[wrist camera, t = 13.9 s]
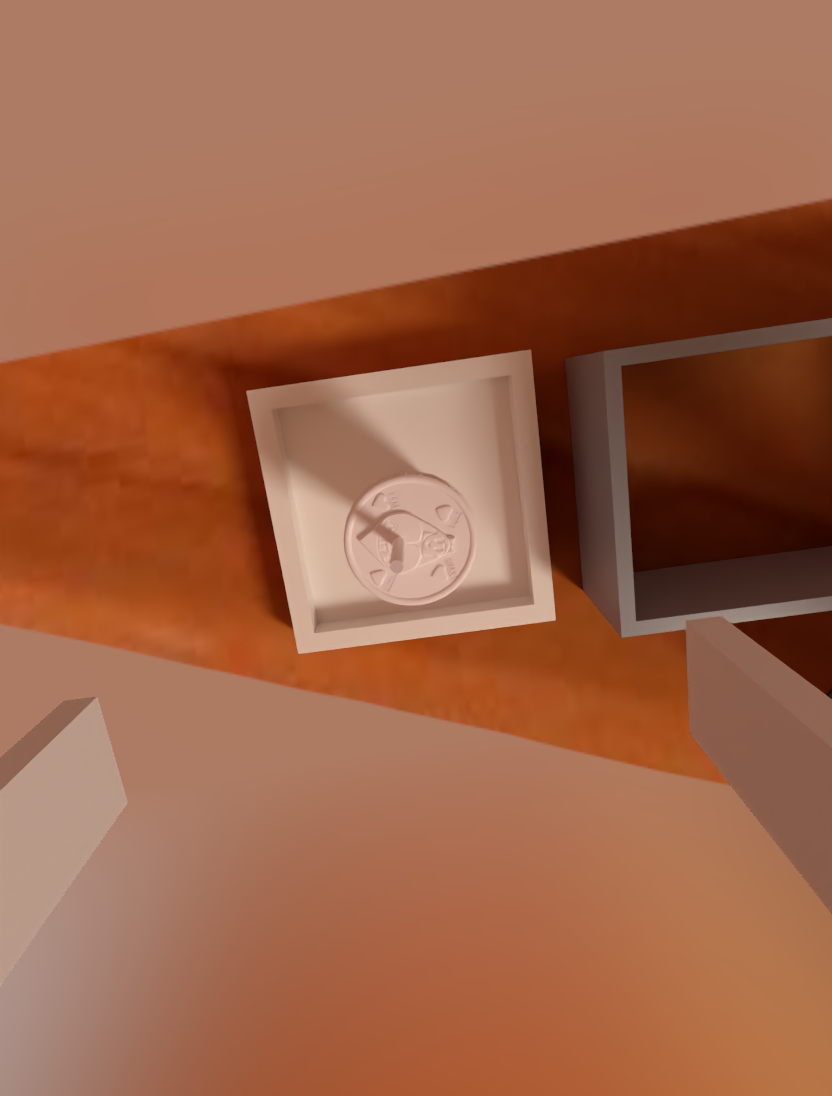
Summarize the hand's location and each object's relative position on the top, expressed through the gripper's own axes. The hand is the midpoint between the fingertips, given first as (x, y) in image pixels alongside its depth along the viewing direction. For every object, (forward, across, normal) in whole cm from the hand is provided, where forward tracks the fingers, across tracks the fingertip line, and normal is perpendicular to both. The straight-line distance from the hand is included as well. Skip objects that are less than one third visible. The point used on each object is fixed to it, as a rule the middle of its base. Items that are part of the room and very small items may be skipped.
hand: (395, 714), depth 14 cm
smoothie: (+26, 0, 0) cm, 26 cm away
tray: (+27, 0, 0) cm, 27 cm away
